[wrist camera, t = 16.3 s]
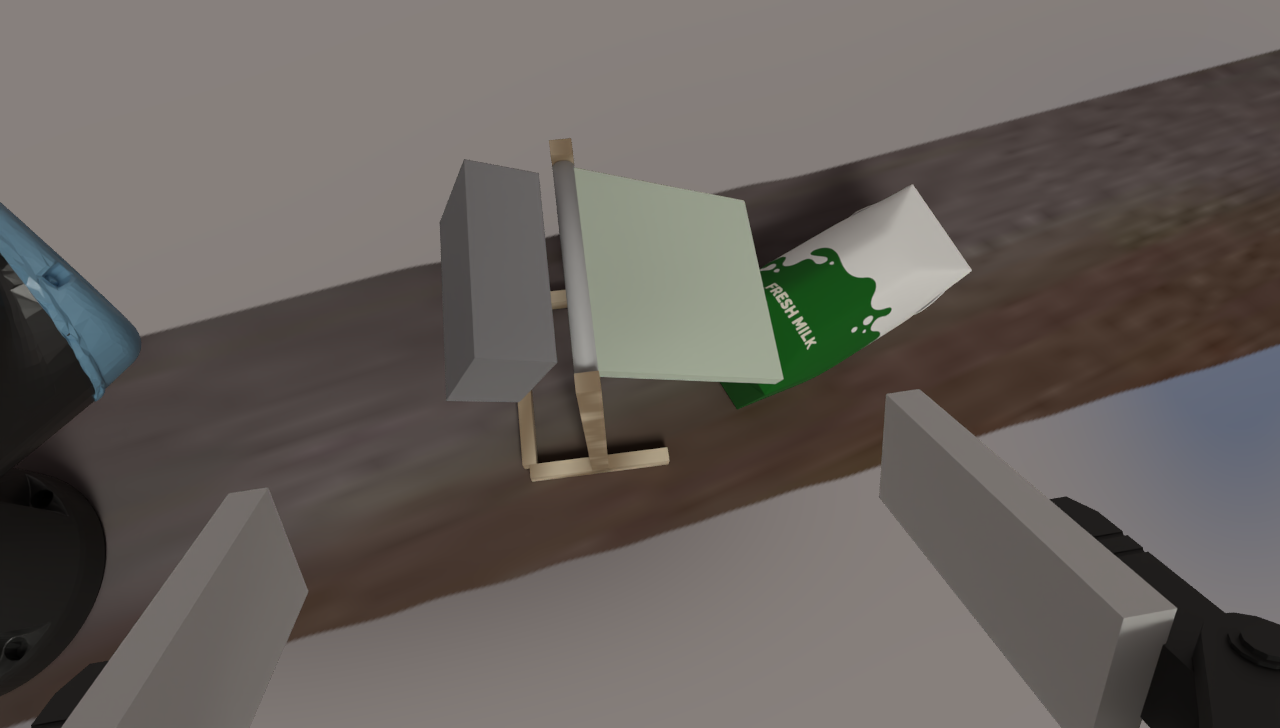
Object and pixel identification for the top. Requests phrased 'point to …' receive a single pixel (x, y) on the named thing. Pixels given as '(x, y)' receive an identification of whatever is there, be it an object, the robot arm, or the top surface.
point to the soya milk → (852, 287)
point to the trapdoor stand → (588, 406)
